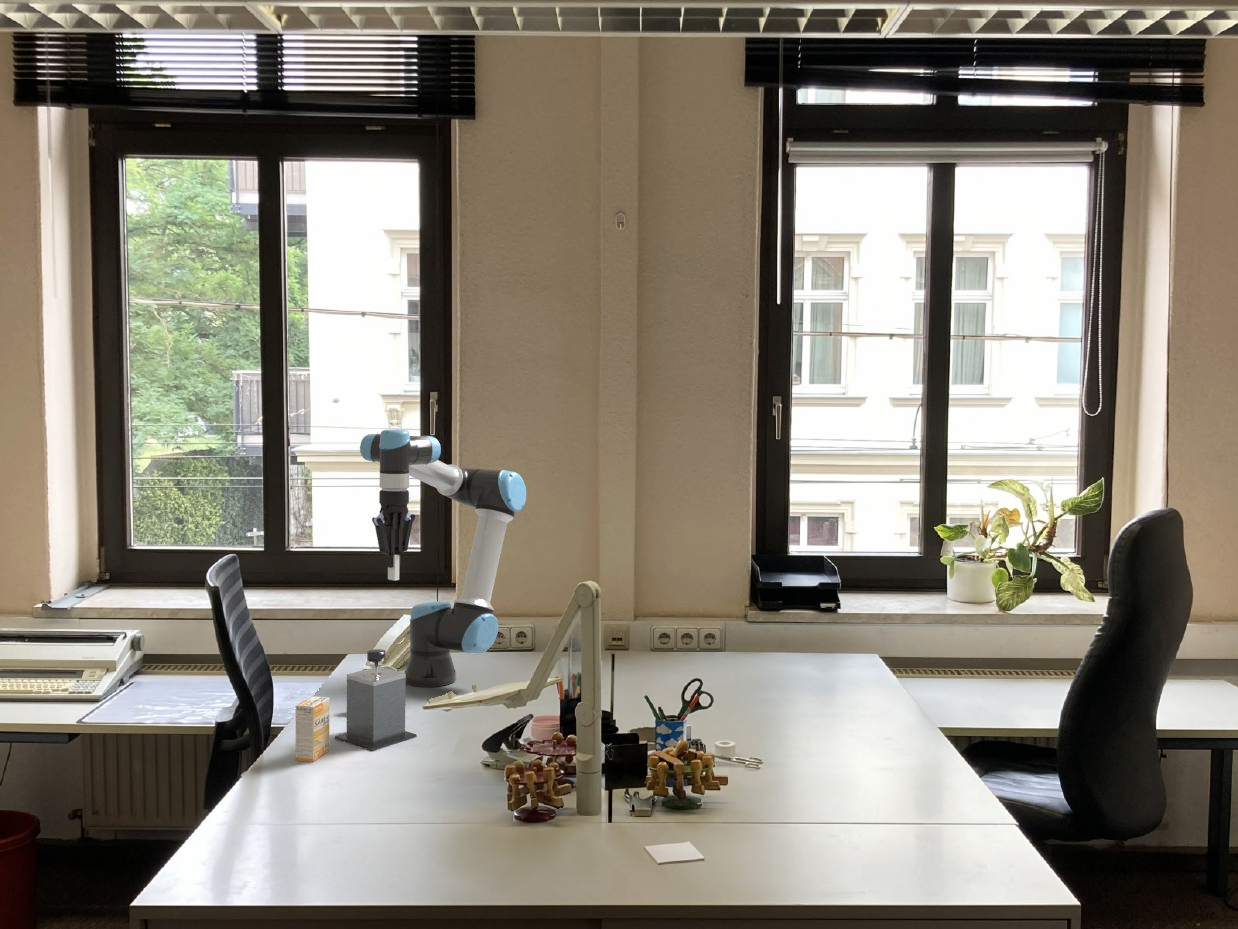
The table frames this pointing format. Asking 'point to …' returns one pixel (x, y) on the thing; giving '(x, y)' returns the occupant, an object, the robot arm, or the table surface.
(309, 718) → the supplement box
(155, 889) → the table surface
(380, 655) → the plunger
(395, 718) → the block
